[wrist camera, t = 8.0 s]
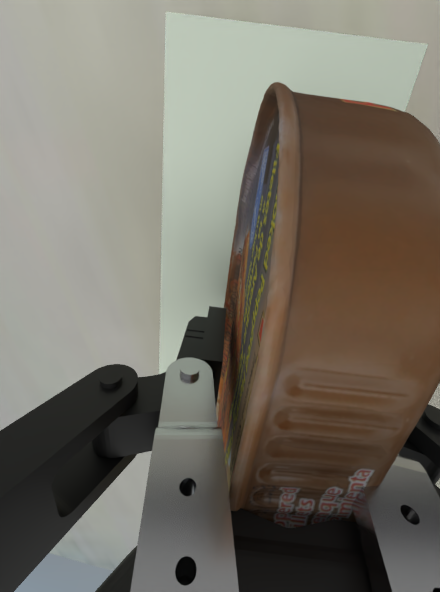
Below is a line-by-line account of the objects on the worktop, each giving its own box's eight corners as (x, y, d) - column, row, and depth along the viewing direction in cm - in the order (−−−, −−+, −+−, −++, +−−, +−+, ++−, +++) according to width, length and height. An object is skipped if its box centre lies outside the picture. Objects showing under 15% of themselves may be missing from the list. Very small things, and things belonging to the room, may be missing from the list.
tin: (248, 124, 9) (264, -146, 1) (339, 136, 9) (872, -97, 1) (207, 425, 15) (170, 669, 8) (260, 433, 15) (275, 689, 8)
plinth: (367, 85, 14) (427, 44, 10) (282, 386, 24) (293, 436, 19) (187, 62, 14) (165, 11, 10) (172, 372, 24) (158, 418, 19)
